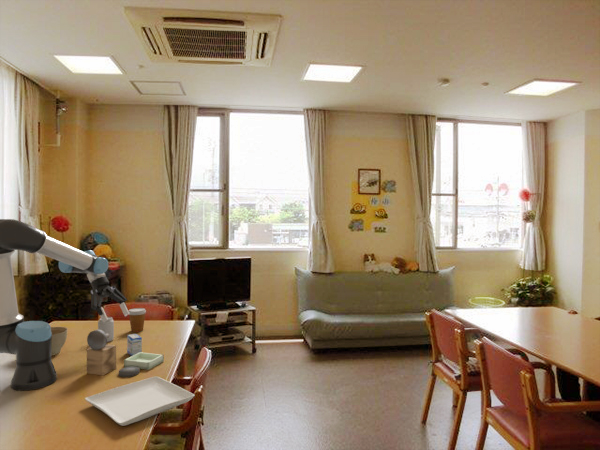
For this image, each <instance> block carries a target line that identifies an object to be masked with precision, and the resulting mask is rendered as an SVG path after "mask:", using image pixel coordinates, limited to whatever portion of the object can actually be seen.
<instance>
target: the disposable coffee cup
mask: <svg viewBox="0 0 600 450" xmlns="http://www.w3.org/2000/svg"><path fill="white" fill-rule="evenodd" d="M128 311H129V313H130V314H128V315H129V316H128V317H129V322H130V325H129V326H130V329H131V330H130V331H131V332H133V333H139V332H143V331H144V325H145V318H146V317H145V316H146V313H147V310H146V308H143V307H136V308H135V307H134V308H131V309H129V310H128Z"/></svg>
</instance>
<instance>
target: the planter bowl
mask: <svg viewBox="0 0 600 450" xmlns="http://www.w3.org/2000/svg"><path fill="white" fill-rule="evenodd" d="M50 327H51V332H52V336H51V357H52V356H55V355H59V354H60V353H61V350H62V348H63V347H64V345H65V344H66V340H67V337H68V331H69V330H68V327H64V326H50Z"/></svg>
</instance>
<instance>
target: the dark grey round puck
mask: <svg viewBox="0 0 600 450" xmlns="http://www.w3.org/2000/svg"><path fill="white" fill-rule="evenodd" d="M139 374H140V369H139V367H123V368H121V369H119V370H118V376H119V377H121V378H131V377H133V376H137V375H139Z"/></svg>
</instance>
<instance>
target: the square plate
mask: <svg viewBox="0 0 600 450" xmlns="http://www.w3.org/2000/svg"><path fill="white" fill-rule="evenodd" d="M194 397H195V394H194V393H192V392H191V391H189V390H187V389H185V388H183V387H181V386H179V385H177V384H174V383H173V382H171V381H169V380H166V379H164V378H162V377H160V376H156V375H155V376H151V377H148V378H144V379H142V380H138V381H134V382H131V383H127V384H124V385H120V386H117V387H114V388H110V389H107V390H104V391H102V392H99V393H96V394H92V395H89V396H86V397H85V398H84V401H86V402H88V403H89V404H91V406H93V407H94V408H96V409H98V410H100V411H102V412H103V413H104V414H105V415H107V416H108V417H109V418H110V419H111V420H113V421H114V422H115V423H116V424H117V425H120V426H122V427H124V426H128V425H131V424H134V423H137V422H138V423H139V422H140V421H143V420H145V419H147V418H151V417H153V416H156V415H158V414H162V413H164V412H166V411H169V410H172V409H174V408H176V407H178V406H180V405H183V404H186V403H188V402H189V401H191V400H192V399H193V398H194Z"/></svg>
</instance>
